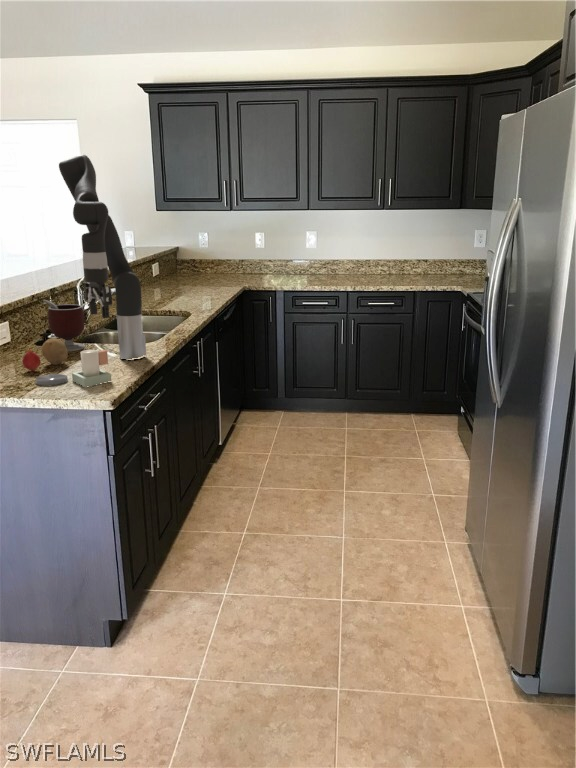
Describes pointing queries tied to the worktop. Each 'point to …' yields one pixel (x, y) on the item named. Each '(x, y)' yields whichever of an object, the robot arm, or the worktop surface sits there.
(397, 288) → the worktop surface
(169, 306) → the worktop surface
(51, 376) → the coaster
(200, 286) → the worktop surface
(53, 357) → the natural sponge
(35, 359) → the onion
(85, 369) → the jug
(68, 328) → the mate gourd
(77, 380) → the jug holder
